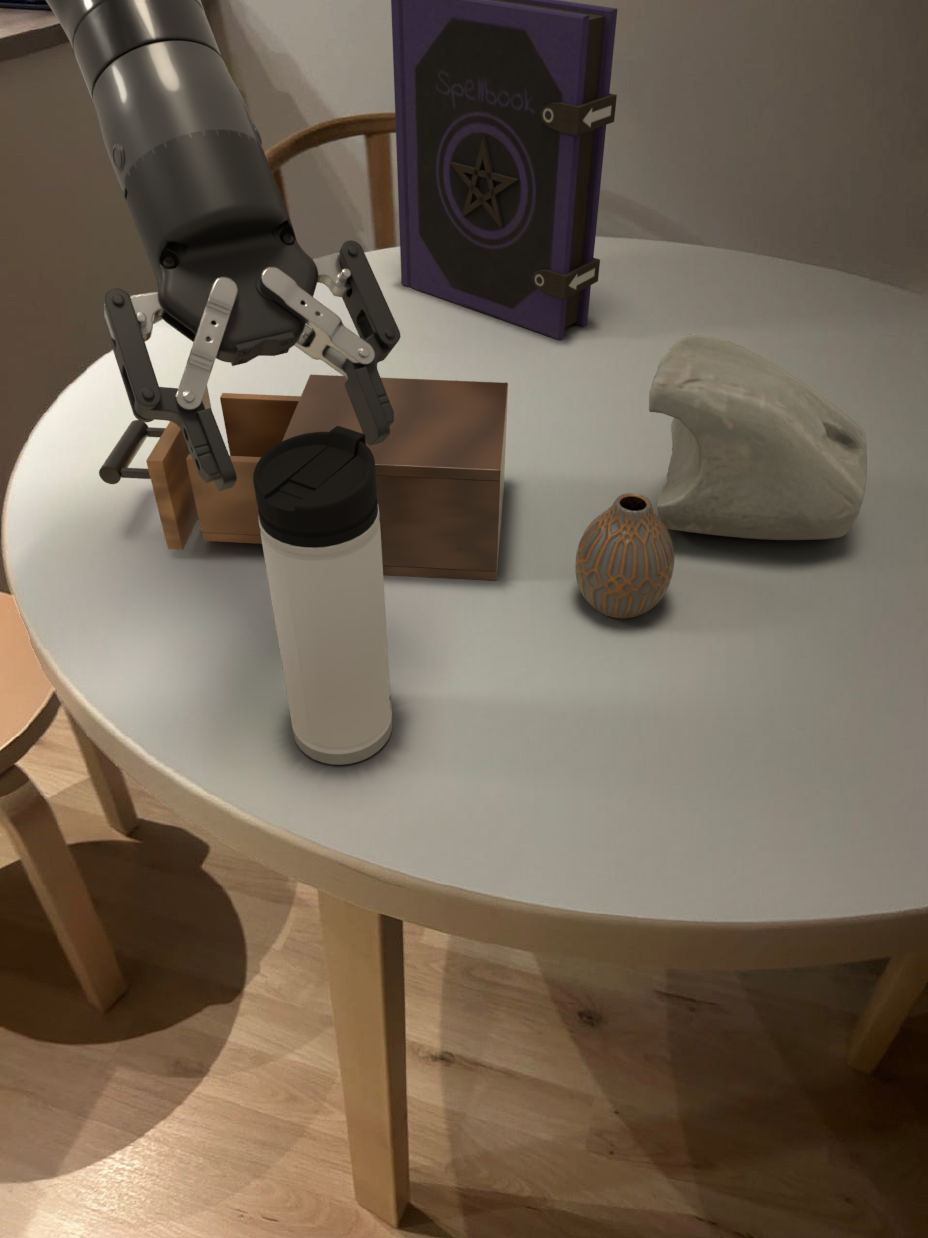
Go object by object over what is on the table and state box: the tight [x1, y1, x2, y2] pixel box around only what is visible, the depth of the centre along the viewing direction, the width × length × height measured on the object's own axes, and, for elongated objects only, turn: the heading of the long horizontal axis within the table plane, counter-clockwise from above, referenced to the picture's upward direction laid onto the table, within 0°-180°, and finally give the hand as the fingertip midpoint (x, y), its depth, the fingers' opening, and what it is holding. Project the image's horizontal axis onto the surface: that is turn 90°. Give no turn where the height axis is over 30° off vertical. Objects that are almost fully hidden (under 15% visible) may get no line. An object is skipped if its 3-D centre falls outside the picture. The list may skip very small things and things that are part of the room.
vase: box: [575, 492, 675, 619], centre depth 68 cm, size 7×7×9 cm
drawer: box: [98, 385, 301, 551], centre depth 75 cm, size 20×12×8 cm, turn 86°
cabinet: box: [283, 374, 509, 582], centre depth 74 cm, size 16×13×10 cm
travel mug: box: [253, 426, 393, 766], centre depth 54 cm, size 6×7×20 cm
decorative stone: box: [648, 333, 868, 541], centre depth 73 cm, size 12×17×15 cm
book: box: [390, 0, 618, 342], centre depth 100 cm, size 24×6×30 cm, turn 50°
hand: (306, 462), depth 50 cm, fingers open, 8 cm apart
